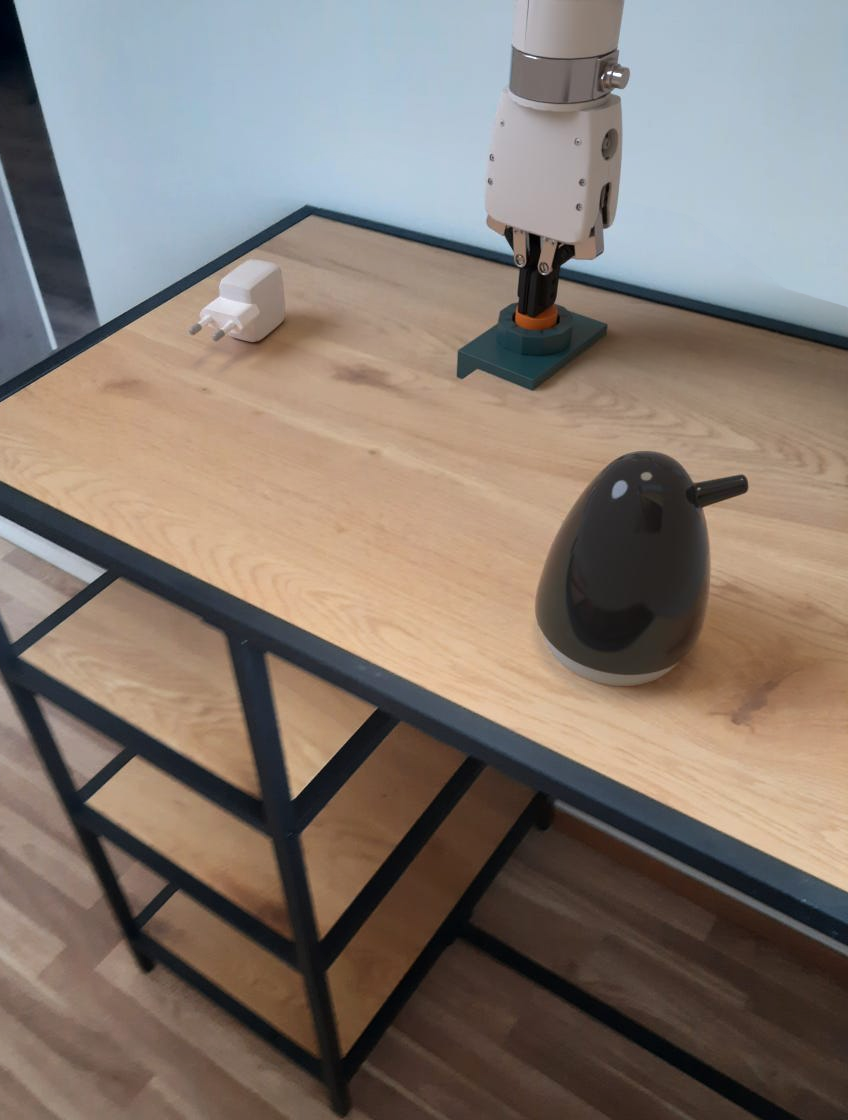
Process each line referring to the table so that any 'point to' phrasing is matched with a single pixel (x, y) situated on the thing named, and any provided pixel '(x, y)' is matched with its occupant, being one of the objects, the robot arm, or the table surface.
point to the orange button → (538, 319)
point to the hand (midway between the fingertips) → (535, 309)
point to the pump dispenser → (631, 570)
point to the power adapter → (246, 303)
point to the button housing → (529, 347)
